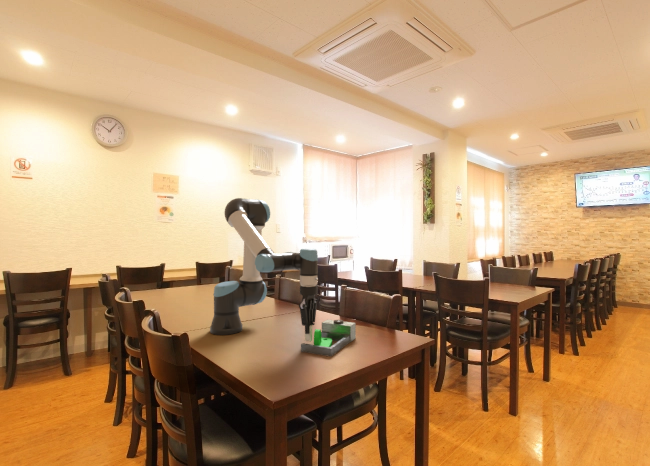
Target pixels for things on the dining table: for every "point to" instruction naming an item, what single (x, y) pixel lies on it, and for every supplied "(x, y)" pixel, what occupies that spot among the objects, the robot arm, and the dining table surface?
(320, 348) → the knobbed latch bracket
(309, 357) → the dining table surface
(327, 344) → the mechanical part
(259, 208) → the robot arm
